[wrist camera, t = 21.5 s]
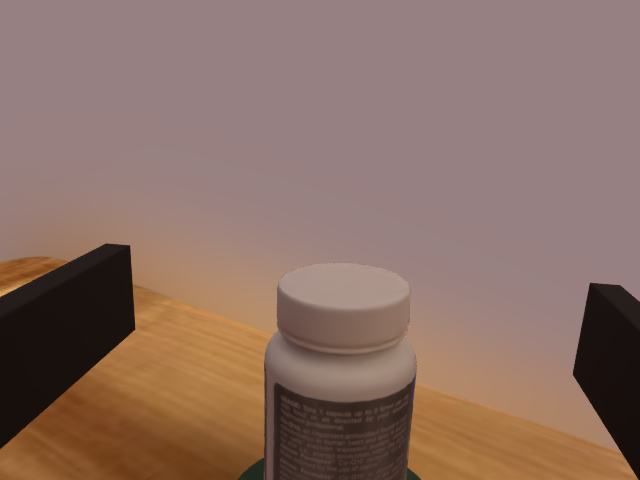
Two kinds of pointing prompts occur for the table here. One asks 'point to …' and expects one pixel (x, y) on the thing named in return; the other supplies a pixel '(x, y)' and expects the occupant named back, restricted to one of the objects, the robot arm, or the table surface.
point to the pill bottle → (339, 376)
